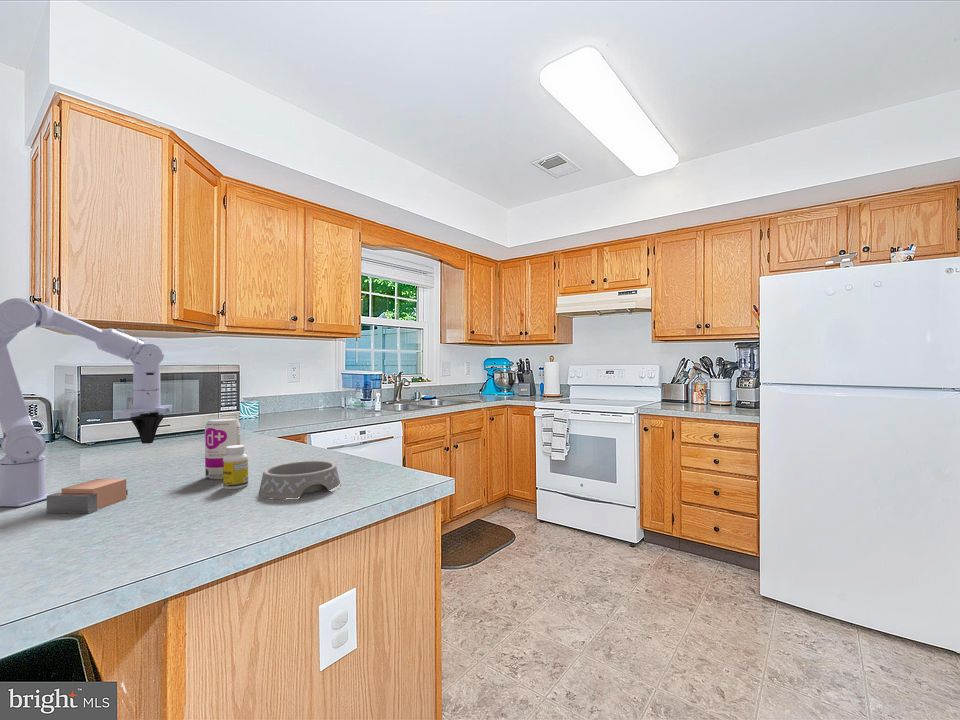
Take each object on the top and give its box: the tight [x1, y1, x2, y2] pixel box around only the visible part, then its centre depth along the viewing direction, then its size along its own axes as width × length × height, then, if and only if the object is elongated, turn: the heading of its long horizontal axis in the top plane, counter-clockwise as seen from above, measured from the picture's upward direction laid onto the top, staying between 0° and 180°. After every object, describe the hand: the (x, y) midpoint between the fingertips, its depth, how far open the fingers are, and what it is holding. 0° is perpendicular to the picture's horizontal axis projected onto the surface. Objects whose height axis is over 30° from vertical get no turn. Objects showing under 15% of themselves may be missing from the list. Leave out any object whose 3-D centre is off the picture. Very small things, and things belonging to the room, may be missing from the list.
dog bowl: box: [258, 460, 341, 500], centre depth 109 cm, size 17×18×5 cm
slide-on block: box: [60, 478, 127, 510], centre depth 98 cm, size 7×8×4 cm
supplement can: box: [204, 417, 242, 480], centre depth 122 cm, size 8×8×15 cm
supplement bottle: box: [222, 444, 249, 490], centre depth 111 cm, size 5×5×10 cm
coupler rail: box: [46, 489, 128, 515], centre depth 99 cm, size 9×13×4 cm
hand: (147, 443), depth 118 cm, fingers closed
